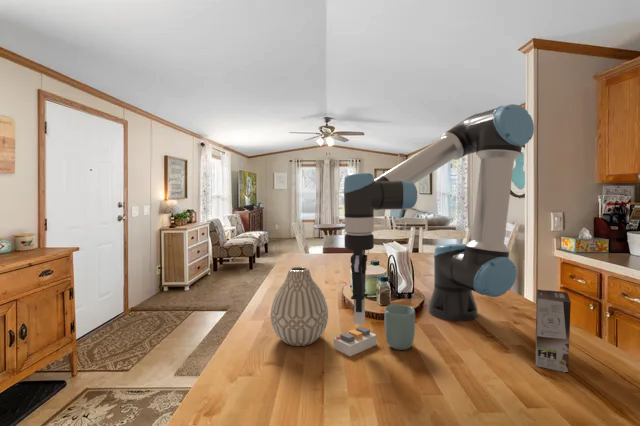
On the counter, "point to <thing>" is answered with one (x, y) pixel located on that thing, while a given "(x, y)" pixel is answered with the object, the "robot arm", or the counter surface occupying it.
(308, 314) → the vase
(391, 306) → the cup
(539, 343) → the coffee box
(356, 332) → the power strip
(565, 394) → the counter surface
